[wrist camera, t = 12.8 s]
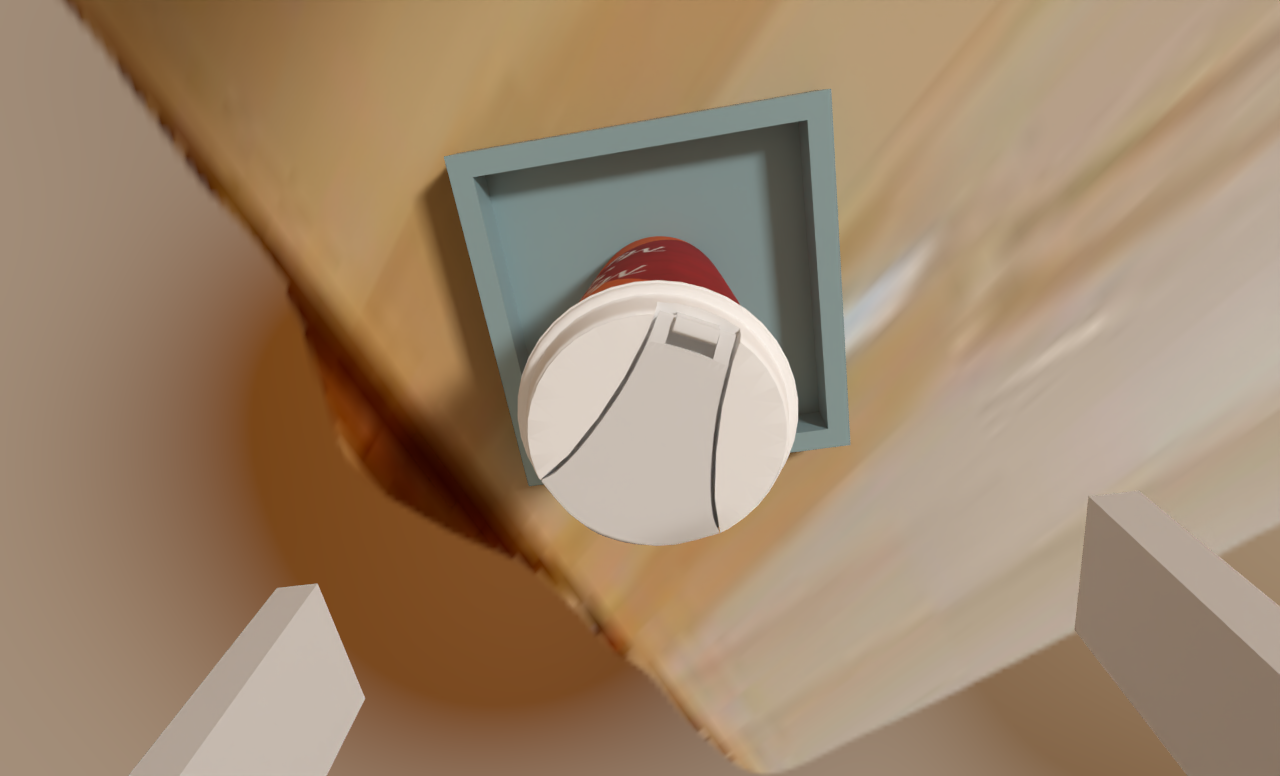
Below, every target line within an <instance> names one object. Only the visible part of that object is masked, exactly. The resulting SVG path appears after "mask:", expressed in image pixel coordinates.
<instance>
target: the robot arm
mask: <svg viewBox="0 0 1280 776" xmlns="http://www.w3.org/2000/svg"><path fill="white" fill-rule="evenodd" d="M1075 631H1076V632H1077V634H1078V635H1079V636H1080V638H1081V639H1082V640H1083V641H1084V643H1085V644H1086V645H1087V647H1088V648H1089V649H1090V650H1091V652H1092V653H1093V654H1094V656H1095V657H1096V658H1097V659H1098V661H1099V662H1100V663H1101V665H1102V666H1103V667H1104V669H1105V670H1106V671H1107V672H1108V674H1109V675H1110V676H1111V678H1112V679H1113V680H1114V681H1115V683H1116V684H1117V685H1118V687H1119V688H1120V689H1121V690H1122V692H1123V693H1124V694H1125V696H1126V697H1127V698H1128V700H1129V701H1130V702H1131V703H1132V705H1133V706H1134V707H1135V709H1136V710H1137V711H1138V712H1139V714H1140V715H1141V716H1142V718H1143V719H1144V720H1145V721H1146V723H1147V724H1148V725H1149V727H1150V728H1151V729H1152V730H1153V732H1154V733H1155V734H1156V736H1157V737H1158V738H1159V740H1160V741H1161V742H1162V743H1163V745H1164V746H1165V747H1166V749H1167V750H1168V751H1169V752H1170V754H1171V755H1172V756H1173V758H1174V759H1175V760H1176V761H1177V762H1178V764H1179V765H1180V767H1181V768H1182V769H1183V771H1184V772H1185V773H1186V774H1187V776H1280V606H1278V605H1277V604H1276V603H1275V602H1274V601H1272V600H1271V599H1270V598H1268V596H1266V595H1265V594H1264V593H1263V592H1261V591H1260V590H1259V589H1258V588H1257V587H1255V586H1254V585H1253V584H1252V583H1250V582H1249V581H1248V580H1247V579H1246V578H1244V577H1243V576H1242V575H1241V574H1240V573H1238V572H1237V571H1236V570H1235V569H1233V568H1232V567H1231V566H1230V565H1229V564H1227V563H1226V562H1225V561H1224V560H1223V559H1221V558H1220V557H1219V556H1218V555H1217V554H1215V553H1214V552H1213V551H1212V550H1210V549H1209V548H1208V547H1207V546H1206V545H1204V544H1203V543H1202V542H1201V541H1199V540H1198V539H1197V538H1196V537H1195V536H1193V535H1192V534H1191V533H1190V532H1189V531H1187V530H1186V529H1185V528H1184V527H1182V526H1181V525H1180V524H1179V523H1178V522H1176V521H1175V520H1174V519H1173V518H1172V517H1170V516H1169V515H1168V514H1167V513H1165V512H1164V511H1163V510H1162V509H1161V508H1159V507H1158V506H1157V505H1156V504H1155V503H1153V502H1152V501H1151V500H1150V499H1148V498H1147V497H1146V496H1145V495H1144V494H1142V493H1141V492H1140V491H1131V492H1122V493H1113V494H1104V495H1096V496H1089V498H1088V507H1087V517H1086V526H1085V536H1084V545H1083V555H1082V564H1081V574H1080V583H1079V593H1078V602H1077V612H1076V621H1075ZM364 700H365V697H364V695H363V692H362V690H361V687H360V685H359V682H358V680H357V678H356V675H355V673H354V670H353V668H352V666H351V663H350V661H349V658H348V656H347V654H346V651H345V649H344V646H343V644H342V642H341V639H340V637H339V634H338V632H337V630H336V627H335V625H334V622H333V620H332V618H331V615H330V613H329V610H328V608H327V605H326V603H325V601H324V598H323V596H322V594H321V591H320V589H319V586H318V584H310V585H300V586H292V587H283V588H277V589H276V590H275V591H274V593H273V594H272V595H271V596H270V598H269V599H268V600H267V601H266V603H265V604H264V605H263V606H262V608H261V609H260V610H259V612H258V613H257V614H256V615H255V616H254V618H253V619H252V620H251V622H250V623H249V624H248V625H247V627H246V628H245V629H244V630H243V632H242V633H241V634H240V635H239V637H238V638H237V639H236V640H235V642H234V643H233V644H232V646H231V647H230V648H229V649H228V651H227V652H226V653H225V654H224V656H223V657H222V658H221V659H220V661H219V662H218V663H217V664H216V666H215V667H214V668H213V670H212V671H211V672H210V673H209V674H208V676H207V677H206V678H205V680H204V681H203V682H202V683H201V685H200V686H199V687H198V688H197V690H196V691H195V692H194V693H193V695H192V696H191V697H190V698H189V700H188V701H187V702H186V703H185V705H184V706H183V707H182V708H181V710H180V711H179V712H178V714H177V715H176V716H175V717H174V719H173V720H172V721H171V722H170V724H169V725H168V726H167V727H166V729H165V730H164V731H163V733H162V734H161V735H160V736H159V738H158V739H157V740H156V741H155V742H154V744H153V745H152V746H151V748H150V749H149V750H148V751H147V753H146V754H145V755H144V756H143V758H142V759H141V760H140V761H139V763H138V764H137V765H136V767H135V768H134V769H133V770H132V771H131V773H130V774H129V776H327V774H328V772H329V769H330V768H331V766H332V764H333V762H334V760H335V757H336V756H337V754H338V752H339V750H340V748H341V746H342V744H343V742H344V740H345V738H346V736H347V734H348V732H349V730H350V728H351V726H352V724H353V722H354V720H355V718H356V716H357V713H358V712H359V710H360V708H361V706H362V704H363V702H364Z"/></svg>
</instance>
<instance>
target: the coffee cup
mask: <svg viewBox="0 0 1280 776" xmlns="http://www.w3.org/2000/svg"><path fill="white" fill-rule="evenodd" d="M518 423H519V429H520V435H521V439H522V442H523V445H524V448H525V451H526V454H527V456H528V458H529V460H530V462H531V464H532V465H533V467H534V470H535V472H536V474H537V476H538V478H539V479H540V480H542V483H543V484H544V485H545V486H546V488H547V489H548V490H549V491H550V492H551V494H552V495H553V496H554V497H555V499H556V500H557V501H558V502H559V503H560V504H561V505H562V506H563V507H564V508H565V509H566V510H567V511H568V513H569V514H571V515H572V516H573V517H574V518H576V519H577V520H578V521H580V522H581V523H582V524H584V525H585V526H586V527H588V528H589V529H590V530H592V531H594V532H596V533H598V534H600V535H602V536H605V537H608V538H611V539H614V540H618V541H622V542H626V543H632V544H641V545H654V546H660V545H675V544H680V543H684V542H689V541H693V540H697V539H701V538H704V537H708V536H711V535H714V534H718V532H719V530H718V527H719V528H720V533H721V532H723V531H725V530H727V529H729V528H730V527H732V526H733V525H735V524H736V523H737V522H739V521H740V520H742V519H743V518H745V517H746V516H747V515H748V514H749V513H750V512H751V511H752V510H753V509H754V508H756V507H757V506H758V505H759V503H760V502H761V501H762V500H763V498H764V497H765V496H766V495H767V493H768V492H769V491H770V489H771V488H772V486H773V484H774V482H775V481H776V479H777V477H778V475H779V473H780V471H781V470H782V468H783V466H784V464H785V463H786V461H787V459H788V456H789V454H790V451H791V448H792V445H793V443H794V440H795V434H796V429H797V423H798V396H797V390H796V384H795V379H794V376H793V373H792V371H791V368H790V365H789V362H788V360H787V358H786V356H785V354H784V352H783V351H782V349H781V347H780V345H779V344H778V342H777V340H776V339H775V338H774V337H773V335H772V334H771V333H770V332H769V330H768V329H767V328H766V327H765V326H764V324H763V323H762V322H761V321H759V320H758V319H757V318H756V317H755V316H754V315H752V314H751V313H750V312H749V311H748V310H747V309H746V308H744V307H742V306H741V305H740V304H739V302H738V300H737V299H736V297H735V296H734V294H733V292H732V291H731V289H730V288H729V286H728V285H727V283H726V282H725V280H724V279H723V277H722V276H721V274H720V273H719V271H718V270H717V268H716V267H715V266H714V264H713V263H712V262H711V261H710V259H709V258H708V257H707V256H706V255H705V254H704V253H703V252H701V251H700V250H699V249H698V248H696V247H695V246H693V245H691V244H690V243H688V242H686V241H683V240H680V239H677V238H673V237H666V236H654V237H647V238H643V239H640V240H637V241H635V242H632V243H630V244H629V245H627V246H625V247H624V248H622V249H621V250H620V251H619V252H617V253H616V254H615V255H614V256H613V257H612V258H611V259H610V260H609V261H608V263H607V264H606V265H605V266H604V268H603V269H602V270H601V272H600V273H599V274H598V276H597V277H596V278H595V280H594V281H593V283H592V284H591V286H590V287H589V288H588V290H587V291H586V293H585V294H584V296H583V297H582V298H581V300H580V301H579V303H577V304H575V305H574V306H572V307H570V308H569V309H568V310H567V311H566V312H565V313H563V314H562V315H561V316H560V317H559V318H558V319H556V320H555V321H554V322H553V323H552V324H551V326H550V327H549V328H548V329H547V330H546V332H545V333H544V334H543V335H542V336H541V337H540V339H539V340H538V342H537V344H536V346H535V347H534V349H533V351H532V353H531V354H530V356H529V358H528V360H527V363H526V366H525V369H524V371H523V374H522V377H521V382H520V387H519V393H518Z"/></svg>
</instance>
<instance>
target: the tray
mask: <svg viewBox="0 0 1280 776" xmlns="http://www.w3.org/2000/svg"><path fill="white" fill-rule="evenodd" d="M444 159H445V163H446V167H447V171H448V175H449V179H450V183H451V186H452V190H453V194H454V198H455V202H456V206H457V210H458V214H459V218H460V221H461V225H462V229H463V233H464V237H465V241H466V245H467V249H468V252H469V256H470V260H471V264H472V268H473V272H474V276H475V280H476V283H477V287H478V291H479V295H480V299H481V303H482V307H483V311H484V314H485V318H486V322H487V326H488V330H489V334H490V338H491V342H492V345H493V349H494V353H495V357H496V361H497V365H498V369H499V373H500V376H501V380H502V384H503V388H504V392H505V396H506V400H507V404H508V407H509V411H510V415H511V419H512V423H513V427H514V431H515V435H516V438H517V442H518V446H519V450H520V454H521V458H522V462H523V466H524V470H525V473H526V477H527V481H528V485H529V486H535V485H543V483H542V480H540V479H539V478H538V476H537V474H536V472H535V470H534V467H533V465H532V464H531V462H530V460H529V458H528V456H527V454H526V451H525V448H524V445H523V442H522V439H521V435H520V429H519V423H518V393H519V387H520V382H521V377H522V374H523V371H524V369H525V366H526V363H527V360H528V358H529V356H530V354H531V353H532V351H533V349H534V347H535V346H536V344H537V342H538V340H539V339H540V337H541V336H542V335H543V334H544V333H545V332H546V330H547V329H548V328H549V327H550V326H551V324H552V323H553V322H554V321H555V320H556V319H558V318H559V317H560V316H561V315H562V314H563V313H565V312H566V311H567V310H568V309H569V308H570V307H572V306H574V305H575V304H577V303H579V301H580V300H581V298H582V297H583V296H584V294H585V293H586V291H587V290H588V288H589V287H590V286H591V284H592V283H593V281H594V280H595V278H596V277H597V276H598V274H599V273H600V272H601V270H602V269H603V268H604V266H605V265H606V264H607V263H608V261H609V260H610V259H611V258H612V257H613V256H614V255H615V254H616V253H617V252H619V251H620V250H621V249H622V248H624V247H625V246H627V245H629V244H630V243H632V242H635V241H637V240H640V239H643V238H647V237H654V236H666V237H673V238H677V239H680V240H683V241H686V242H688V243H690V244H691V245H693V246H695V247H696V248H698V249H699V250H700V251H701V252H703V253H704V254H705V255H706V256H707V257H708V258H709V259H710V261H711V262H712V263H713V264H714V266H715V267H716V268H717V270H718V271H719V273H720V274H721V276H722V277H723V279H724V280H725V282H726V283H727V285H728V286H729V288H730V289H731V291H732V292H733V294H734V296H735V297H736V299H737V300H738V302H739V304H740V305H741V306H742V307H744V308H746V309H747V310H748V311H749V312H750V313H751V314H752V315H754V316H755V317H756V318H757V319H758V320H759V321H761V322H762V323H763V324H764V326H765V327H766V328H767V329H768V330H769V332H770V333H771V334H772V335H773V337H774V338H775V339H776V340H777V342H778V344H779V345H780V347H781V349H782V351H783V352H784V354H785V356H786V358H787V360H788V362H789V365H790V368H791V371H792V373H793V376H794V379H795V384H796V390H797V396H798V423H797V429H796V434H795V440H794V443H793V445H792V448H791V451H790V453H791V452H799V451H806V450H814V449H822V448H830V447H837V446H845V445H850V430H849V411H848V393H847V374H846V356H845V337H844V319H843V300H842V282H841V263H840V245H839V226H838V208H837V189H836V171H835V152H834V134H833V115H832V97H831V89H824V90H815V91H809V92H804V93H798V94H792V95H787V96H781V97H775V98H770V99H764V100H758V101H752V102H747V103H741V104H735V105H730V106H724V107H718V108H713V109H707V110H701V111H695V112H690V113H684V114H678V115H673V116H667V117H661V118H656V119H650V120H644V121H638V122H633V123H627V124H621V125H616V126H610V127H604V128H599V129H593V130H587V131H581V132H576V133H570V134H564V135H559V136H553V137H547V138H541V139H536V140H530V141H524V142H519V143H513V144H507V145H502V146H496V147H490V148H484V149H479V150H473V151H467V152H462V153H457V154H453V155H449V156H444Z"/></svg>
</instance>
